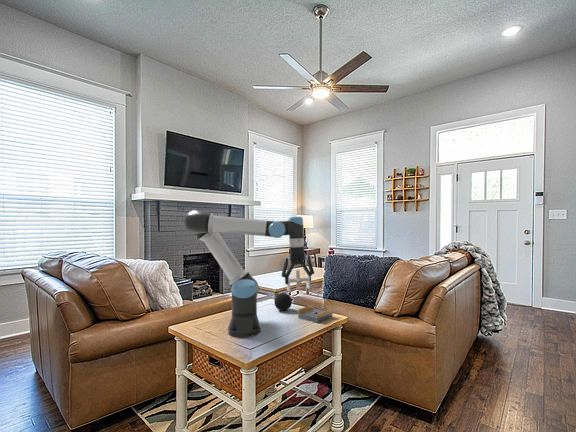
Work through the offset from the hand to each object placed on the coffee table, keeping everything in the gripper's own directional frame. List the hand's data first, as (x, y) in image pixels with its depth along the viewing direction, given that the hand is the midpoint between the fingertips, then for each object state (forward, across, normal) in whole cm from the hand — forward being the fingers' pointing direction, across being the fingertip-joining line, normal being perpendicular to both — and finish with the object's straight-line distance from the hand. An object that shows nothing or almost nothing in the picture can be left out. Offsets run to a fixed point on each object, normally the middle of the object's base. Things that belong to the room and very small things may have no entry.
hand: (298, 289), depth 164 cm
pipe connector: (0, 0, 0) cm, 0 cm away
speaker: (+16, -2, +21) cm, 27 cm away
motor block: (+17, +10, +2) cm, 20 cm away
